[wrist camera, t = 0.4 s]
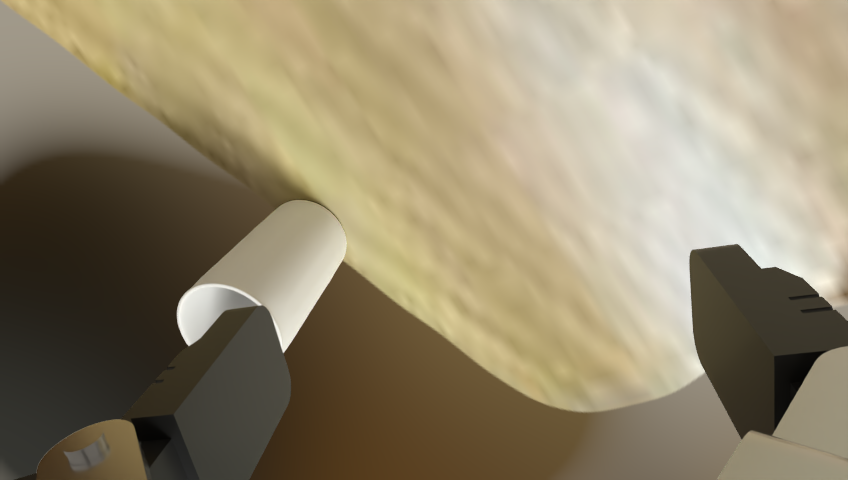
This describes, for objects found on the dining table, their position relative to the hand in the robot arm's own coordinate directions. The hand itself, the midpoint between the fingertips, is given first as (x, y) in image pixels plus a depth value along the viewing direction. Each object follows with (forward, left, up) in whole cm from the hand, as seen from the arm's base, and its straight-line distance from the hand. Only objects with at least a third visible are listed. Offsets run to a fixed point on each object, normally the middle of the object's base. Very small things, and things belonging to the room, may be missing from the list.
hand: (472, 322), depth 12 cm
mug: (+5, -24, -29) cm, 38 cm away
